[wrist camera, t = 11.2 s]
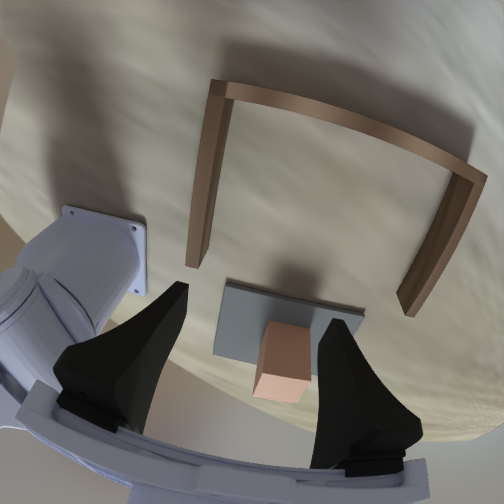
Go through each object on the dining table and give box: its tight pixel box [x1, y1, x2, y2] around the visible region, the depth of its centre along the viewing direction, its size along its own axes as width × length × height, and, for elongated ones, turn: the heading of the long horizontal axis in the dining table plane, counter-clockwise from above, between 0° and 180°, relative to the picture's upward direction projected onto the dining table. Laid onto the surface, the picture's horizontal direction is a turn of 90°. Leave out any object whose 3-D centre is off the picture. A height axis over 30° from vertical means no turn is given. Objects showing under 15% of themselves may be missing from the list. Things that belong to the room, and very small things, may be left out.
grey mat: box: [213, 283, 365, 375], centre depth 27 cm, size 13×10×1 cm
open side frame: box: [185, 79, 488, 317], centre depth 19 cm, size 19×13×3 cm
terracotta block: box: [253, 320, 311, 403], centre depth 24 cm, size 4×4×6 cm
